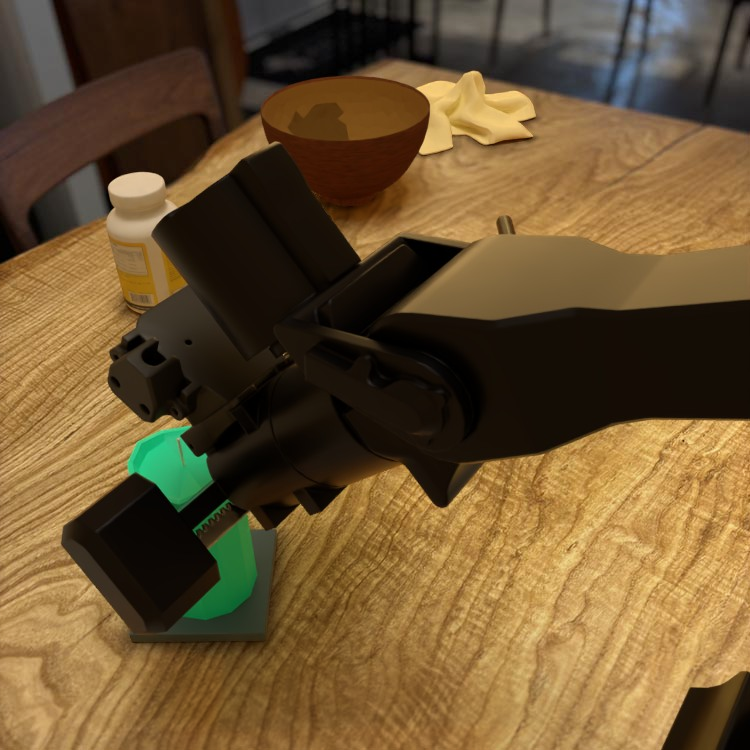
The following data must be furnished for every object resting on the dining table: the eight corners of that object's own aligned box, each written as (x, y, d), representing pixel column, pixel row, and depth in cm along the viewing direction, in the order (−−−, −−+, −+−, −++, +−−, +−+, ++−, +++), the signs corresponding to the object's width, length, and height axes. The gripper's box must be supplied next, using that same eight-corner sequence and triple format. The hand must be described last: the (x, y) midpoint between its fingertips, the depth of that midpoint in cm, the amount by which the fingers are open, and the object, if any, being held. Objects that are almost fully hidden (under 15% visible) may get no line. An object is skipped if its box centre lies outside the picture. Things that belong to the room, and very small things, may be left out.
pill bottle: (200, 278, 82) (181, 165, 74) (190, 317, 77) (169, 200, 69) (132, 280, 82) (106, 167, 74) (118, 319, 77) (89, 202, 69)
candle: (140, 599, 52) (96, 459, 44) (195, 530, 56) (164, 391, 49) (223, 634, 50) (193, 493, 42) (274, 559, 54) (255, 419, 47)
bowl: (416, 238, 87) (418, 145, 81) (249, 226, 90) (238, 135, 83) (436, 163, 100) (439, 79, 94) (291, 155, 103) (284, 72, 97)
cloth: (408, 85, 120) (408, 41, 116) (541, 94, 117) (546, 48, 113) (374, 151, 103) (373, 102, 100) (528, 164, 100) (533, 113, 96)
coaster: (277, 536, 57) (276, 528, 56) (265, 641, 51) (264, 633, 50) (157, 538, 57) (155, 529, 56) (131, 642, 51) (128, 634, 50)
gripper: (347, 182, 41) (213, 301, 53) (26, 385, 30) (-53, 479, 42) (479, 366, 43) (319, 441, 55) (221, 630, 31) (90, 652, 43)
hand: (185, 492), depth 48 cm, fingers open, 9 cm apart
